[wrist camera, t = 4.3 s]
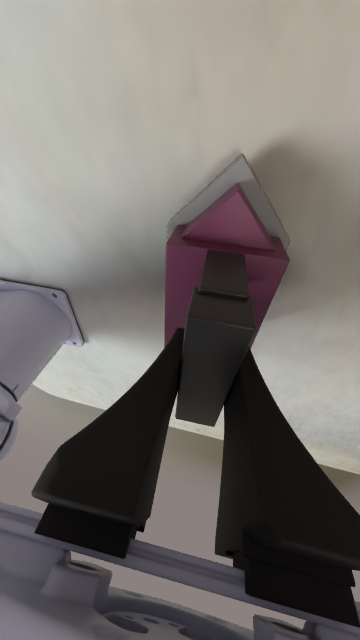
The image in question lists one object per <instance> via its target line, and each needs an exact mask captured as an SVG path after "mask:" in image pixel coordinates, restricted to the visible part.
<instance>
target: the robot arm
mask: <svg viewBox="0 0 360 640" xmlns="http://www.w3.org/2000/svg"><path fill="white" fill-rule="evenodd" d="M184 330H185V328H179V327H178V328H176V330H175V332H174V334H173V336H172V337H171V339H170V341H169V342H168V344H167V345H166V347H165V348H164V349H163V351H162V352H161V354H160V355H159V356H158V358H157V359H156V360H155V361H154V363H153V364H152V365H151V366H150V367H149V369H148V370H147V371H146V372H145V373H144V374H143V376H142V377H141V378H140V379H139V380H138V381H137V382H136V383H135V384H134V385H133V386H132V387H131V388H130V389H129V390H128V391H127V392H126V393H125V394H124V395H123V396H122V397H121V398H120V399H119V400H118V401H116V402H115V403H114V404H113V405H112V406H111V407H110V408H108V409H107V410H106V411H105V412H104V413H103V414H101V415H100V416H99V417H98V418H96V419H95V420H94V421H93V422H92V423H90V424H89V425H88V426H87V427H85V428H84V429H83V430H81V431H80V432H78V433H77V434H76V435H74V436H73V437H72V438H70V439H69V440H68V441H66V442H65V443H64V444H62V445H61V446H60V447H59V448H58V450H57V451H56V453H55V454H54V455H53V457H52V458H51V460H50V461H49V462H48V464H47V465H46V467H45V469H44V470H43V472H42V474H41V476H40V478H39V479H38V482H37V483H36V485H35V487H34V488H33V490H32V496H33V497H35V498H37V499H40V500H42V501H44V502H47V503H49V504H48V506H47V508H46V510H45V512H44V514H42V513H38V512H35V511H31V510H27V509H24V508H20V507H17V506H13V505H10V504H6V503H3V502H0V640H360V603H359V602H356V601H354V598H353V594H352V590H351V587H355V580H354V577H353V573H352V570H359V571H360V515H359V514H358V513H357V512H356V510H355V509H354V508H353V507H352V506H351V505H350V503H349V502H348V501H347V500H346V499H345V498H344V496H343V495H342V494H341V493H340V492H339V490H338V489H337V488H336V487H335V486H334V484H333V483H332V482H331V481H330V479H329V478H328V477H327V476H326V474H325V473H324V472H323V471H322V469H321V468H320V467H319V465H318V464H317V463H316V461H315V460H314V459H313V457H312V456H311V455H310V453H309V452H308V451H307V449H306V448H305V446H304V445H303V444H302V442H301V441H300V440H299V438H298V437H297V435H296V434H295V432H294V431H293V429H292V428H291V426H290V425H289V423H288V422H287V420H286V419H285V417H284V416H283V414H282V412H281V411H280V409H279V407H278V406H277V404H276V402H275V400H274V399H273V397H272V395H271V393H270V391H269V389H268V388H267V386H266V384H265V382H264V380H263V377H262V375H261V373H260V371H259V369H258V367H257V364H256V362H255V360H254V357H253V355H252V352H251V350H250V347H248V350H247V352H246V354H245V357H244V359H243V361H242V364H241V366H240V368H239V371H238V373H237V375H236V378H235V380H234V382H233V385H232V387H231V389H230V391H229V394H228V396H227V398H226V401H225V403H224V447H223V462H222V474H221V486H220V498H219V508H218V518H217V528H216V537H215V554H216V555H220V556H223V557H227V558H231V559H233V567H231V566H227V565H224V564H220V563H217V562H213V561H209V560H206V559H202V558H198V557H195V556H192V555H188V554H184V553H181V552H178V551H174V550H170V549H167V548H163V547H159V546H156V545H152V544H149V543H145V542H142V541H138V540H135V535H136V532H137V531H140V532H144V528H145V524H146V520H147V519H148V518H149V517H150V515H151V509H152V504H153V499H154V494H155V489H156V483H157V479H158V473H159V469H160V464H161V459H162V454H163V449H164V444H165V439H166V435H167V430H168V425H169V420H170V416H171V413H172V409H173V406H174V402H175V399H176V396H177V392H178V387H179V378H180V368H181V359H182V349H183V340H184ZM63 344H69V345H74V346H79V347H81V346H83V344H84V341H83V339H82V336H81V333H80V331H79V328H78V325H77V323H76V320H75V317H74V315H73V312H72V309H71V307H70V304H69V301H68V298H67V296H66V294H65V293H64V292H63V291H61V290H55V289H50V288H44V287H38V286H32V285H26V284H20V283H14V282H8V281H2V280H0V464H1V463H2V462H3V460H4V459H5V457H6V456H7V455H8V453H9V451H10V449H11V447H12V446H13V443H14V441H15V437H16V435H17V431H18V420H17V418H16V415H17V414H18V413H19V412H20V410H21V409H22V407H21V406H20V405H19V404H17V403H16V402H17V401H18V400H19V399H20V397H21V396H22V395H23V394H24V393H25V391H26V390H27V389H28V387H29V386H30V385H31V384H32V383H33V381H34V380H35V379H36V378H37V376H38V375H39V374H40V373H41V371H42V370H43V369H44V368H45V366H46V365H47V364H48V363H49V361H50V360H51V359H52V358H53V356H54V355H55V354H56V353H57V351H58V350H59V349H60V348H61V346H62V345H63ZM70 551H74V552H77V553H80V554H83V555H87V556H90V557H94V558H97V559H100V560H104V561H107V562H111V563H114V564H118V565H121V566H124V567H127V568H131V569H134V570H138V571H141V572H145V573H148V574H151V575H155V576H158V577H161V578H165V579H168V580H172V581H175V582H178V583H182V584H185V585H188V586H192V587H195V588H199V589H202V590H205V591H209V592H212V593H216V594H219V595H222V596H226V597H229V598H233V599H236V600H239V601H243V602H246V603H249V604H253V605H256V606H260V607H263V608H266V609H270V610H273V611H277V612H280V613H283V614H287V615H290V616H294V617H297V618H300V619H304V620H307V621H306V622H305V624H304V628H303V629H300V628H298V627H296V626H294V625H292V624H289V623H287V622H284V621H282V620H279V619H275V618H271V617H266V616H261V615H256V614H255V615H254V616H253V627H254V631H252V630H250V629H247V628H244V627H241V626H238V625H236V624H233V623H230V622H227V621H225V620H222V619H219V618H217V617H214V616H211V615H208V614H205V613H203V612H200V611H197V610H194V609H191V608H188V607H185V606H182V605H179V604H176V603H172V602H169V601H166V600H162V599H159V598H155V597H151V596H147V595H144V594H140V593H135V592H131V591H127V590H123V589H119V588H115V587H111V586H109V584H110V581H111V577H112V572H111V571H110V570H107V569H105V568H103V567H100V566H98V565H96V564H93V563H89V562H85V561H77V560H71V552H70Z"/></svg>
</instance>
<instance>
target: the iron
mask: <svg viewBox="0 0 360 640" xmlns="http://www.w3.org/2000/svg"><path fill="white" fill-rule="evenodd" d="M289 243H290V238H289V236H288V234H287V233H286V231H285V229H284V227H283V225H282V223H281V222H280V220H279V218H278V216H277V214H276V213H275V211H274V209H273V207H272V205H271V203H270V202H269V200H268V198H267V196H266V194H265V193H264V191H263V189H262V187H261V185H260V183H259V182H258V180H257V178H256V176H255V174H254V172H253V171H252V169H251V167H250V165H249V163H248V162H247V160H246V158H245V156H244V154H241V155H239V156H238V157H237V158H236V159H235V160H234V161H233V162H232V163H231V164H230V165H229V166H228V167H227V168H226V169H224V170H223V171H222V172H221V173H220V174H219V175H218V176H217V177H216V178H215V179H214V180H213V181H212V182H210V183H209V184H208V185H207V186H206V187H205V188H204V189H203V190H202V191H201V192H200V193H199V194H198V195H197V196H195V197H194V198H193V199H192V200H191V201H190V202H189V203H188V204H187V205H186V206H185V207H184V208H183V209H181V210H180V211H179V212H178V213H177V214H176V215H175V216H174V217H173V218H172V219H171V220H170V222H169V223H168V225H167V243H166V281H165V344H164V348H165V347H166V345H167V344H168V342H169V341H170V339H171V337H172V336H173V334H174V332H175V330H176V328H178V327H179V328H185V330H184V340H183V349H182V359H181V368H180V378H179V387H178V397H177V406H176V415H175V417H176V419H180V420H185V421H189V422H194V423H198V424H203V425H207V426H212V427H214V426H215V424H216V422H217V419H218V417H219V415H220V412H221V410H222V408H223V405H224V403H225V401H226V398H227V396H228V394H229V391H230V389H231V387H232V385H233V382H234V380H235V378H236V375H237V373H238V371H239V368H240V366H241V364H242V361H243V359H244V357H245V354H246V352H247V350H248V347H250V349H251V347H252V344H253V342H254V340H255V337H256V335H257V333H258V331H259V328H260V326H261V324H262V322H263V319H264V317H265V315H266V313H267V310H268V308H269V306H270V304H271V301H272V299H273V297H274V295H275V292H276V290H277V288H278V286H279V283H280V281H281V279H282V277H283V274H284V272H285V270H286V268H287V265H288V263H289V261H290V260H289V257H288V255H287V253H286V250H287V247H288V245H289Z"/></svg>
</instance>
